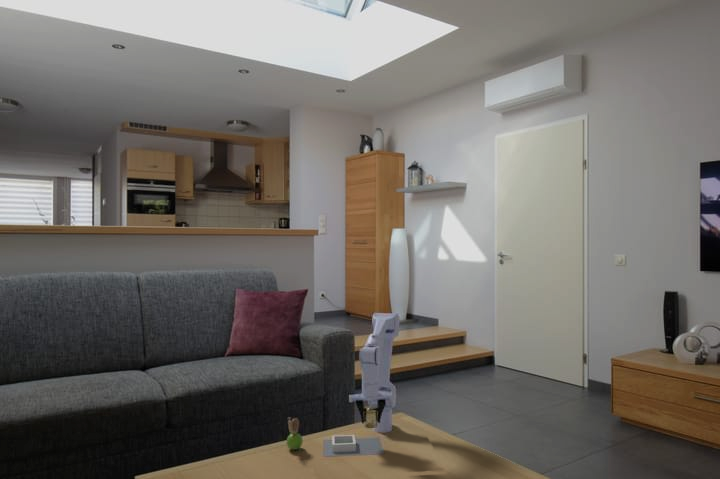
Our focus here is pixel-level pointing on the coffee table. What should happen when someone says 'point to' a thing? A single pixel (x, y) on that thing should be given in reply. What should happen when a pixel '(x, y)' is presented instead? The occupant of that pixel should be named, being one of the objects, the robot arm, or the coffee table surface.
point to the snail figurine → (294, 435)
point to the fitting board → (351, 446)
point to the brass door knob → (370, 416)
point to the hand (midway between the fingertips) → (370, 422)
